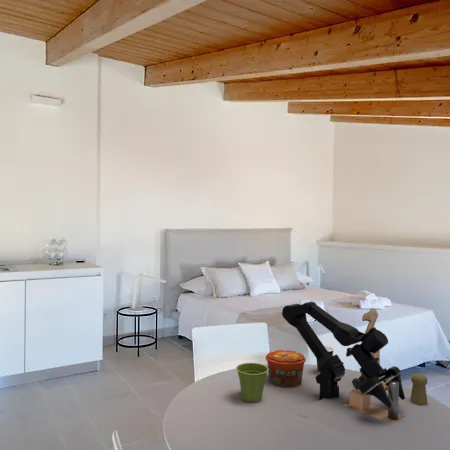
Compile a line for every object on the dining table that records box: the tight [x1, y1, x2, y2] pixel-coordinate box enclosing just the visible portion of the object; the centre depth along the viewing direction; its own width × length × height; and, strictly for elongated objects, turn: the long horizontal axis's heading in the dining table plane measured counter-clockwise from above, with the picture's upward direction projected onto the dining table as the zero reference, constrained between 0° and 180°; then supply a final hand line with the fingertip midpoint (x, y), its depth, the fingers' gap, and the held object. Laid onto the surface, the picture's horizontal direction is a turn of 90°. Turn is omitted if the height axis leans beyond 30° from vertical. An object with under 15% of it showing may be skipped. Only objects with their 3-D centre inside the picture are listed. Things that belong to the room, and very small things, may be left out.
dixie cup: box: [315, 345, 335, 375], centre depth 187 cm, size 8×8×11 cm
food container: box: [265, 349, 307, 388], centre depth 178 cm, size 16×16×11 cm
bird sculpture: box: [353, 307, 388, 390], centre depth 170 cm, size 11×12×32 cm
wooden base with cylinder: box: [342, 380, 405, 425], centre depth 149 cm, size 18×8×13 cm, turn 42°
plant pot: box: [235, 362, 269, 403], centre depth 161 cm, size 12×12×11 cm
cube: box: [348, 388, 371, 410], centre depth 152 cm, size 5×5×5 cm
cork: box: [409, 373, 428, 406], centre depth 156 cm, size 6×6×11 cm
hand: (397, 403), depth 143 cm, fingers open, 9 cm apart
